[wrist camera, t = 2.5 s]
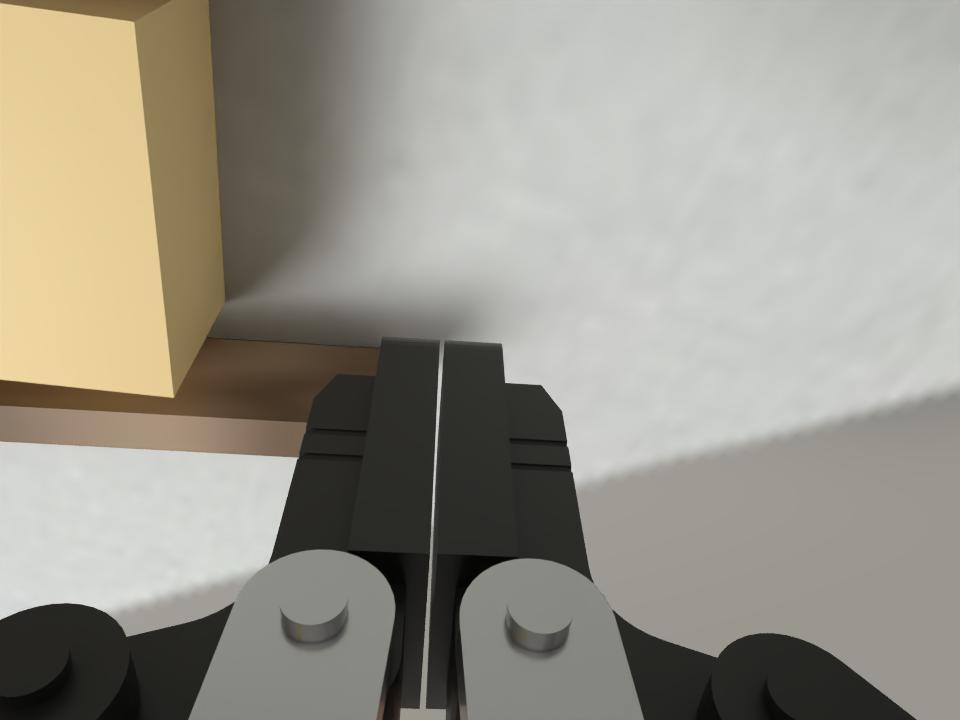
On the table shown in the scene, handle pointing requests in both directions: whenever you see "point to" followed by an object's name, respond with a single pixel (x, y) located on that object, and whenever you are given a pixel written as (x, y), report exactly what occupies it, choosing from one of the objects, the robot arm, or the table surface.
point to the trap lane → (192, 402)
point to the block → (107, 193)
